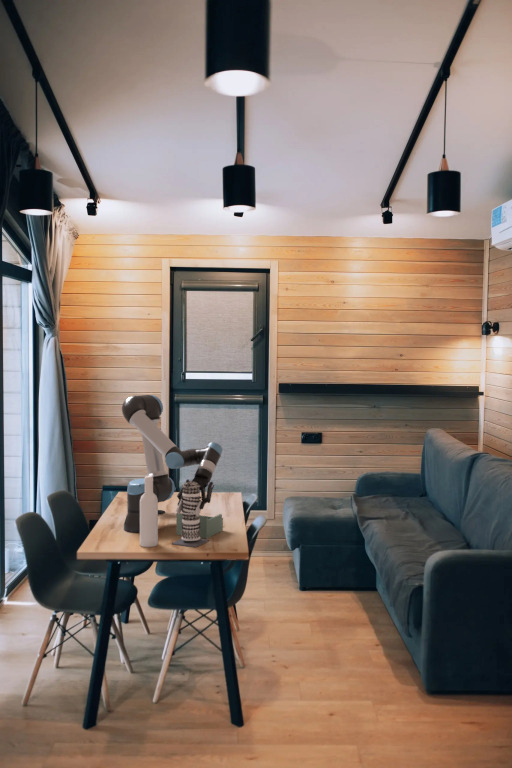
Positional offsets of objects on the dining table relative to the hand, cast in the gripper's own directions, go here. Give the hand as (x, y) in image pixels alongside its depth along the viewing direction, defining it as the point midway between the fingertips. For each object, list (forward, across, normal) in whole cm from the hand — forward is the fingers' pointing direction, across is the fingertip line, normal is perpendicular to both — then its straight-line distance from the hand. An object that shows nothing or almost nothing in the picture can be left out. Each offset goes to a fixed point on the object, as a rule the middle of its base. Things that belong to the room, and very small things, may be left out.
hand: (187, 513), depth 280 cm
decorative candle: (+6, 0, -11) cm, 12 cm away
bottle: (+15, +15, -4) cm, 22 cm away
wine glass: (-23, +47, -43) cm, 67 cm away
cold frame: (-5, +5, -24) cm, 25 cm away
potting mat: (+7, 0, -12) cm, 14 cm away
